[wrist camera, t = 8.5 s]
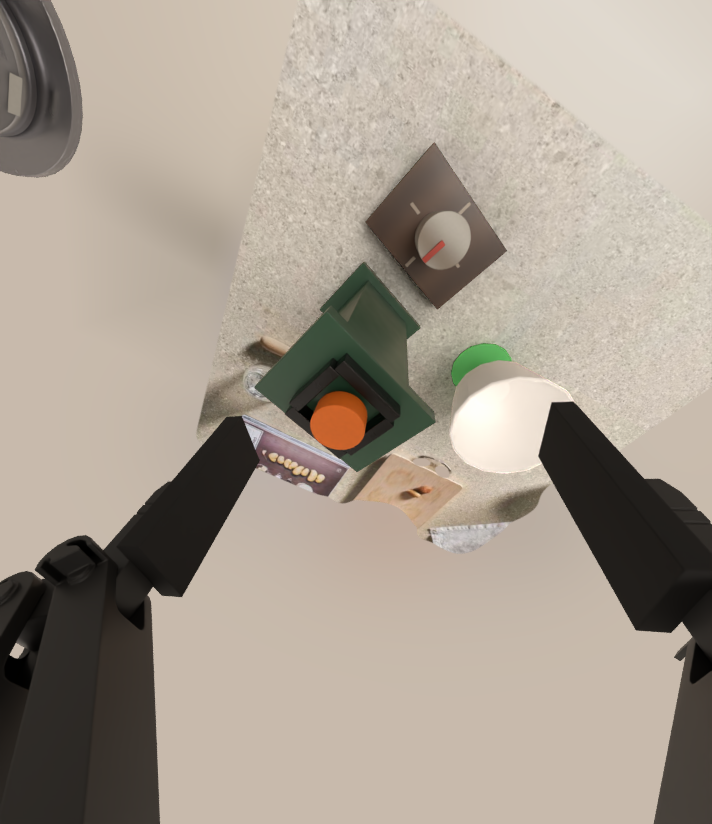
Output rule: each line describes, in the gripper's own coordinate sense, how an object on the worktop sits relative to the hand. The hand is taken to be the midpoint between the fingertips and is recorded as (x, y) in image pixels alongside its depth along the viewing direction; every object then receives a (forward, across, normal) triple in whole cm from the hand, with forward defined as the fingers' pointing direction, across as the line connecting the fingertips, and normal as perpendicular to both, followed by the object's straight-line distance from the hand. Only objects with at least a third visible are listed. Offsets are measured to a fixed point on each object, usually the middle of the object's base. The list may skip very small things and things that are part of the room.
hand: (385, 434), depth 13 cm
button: (+8, -4, -4) cm, 10 cm away
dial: (+32, +5, +5) cm, 32 cm away
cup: (+35, +12, -14) cm, 40 cm away
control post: (+35, -4, -4) cm, 35 cm away
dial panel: (+35, +5, +5) cm, 35 cm away
